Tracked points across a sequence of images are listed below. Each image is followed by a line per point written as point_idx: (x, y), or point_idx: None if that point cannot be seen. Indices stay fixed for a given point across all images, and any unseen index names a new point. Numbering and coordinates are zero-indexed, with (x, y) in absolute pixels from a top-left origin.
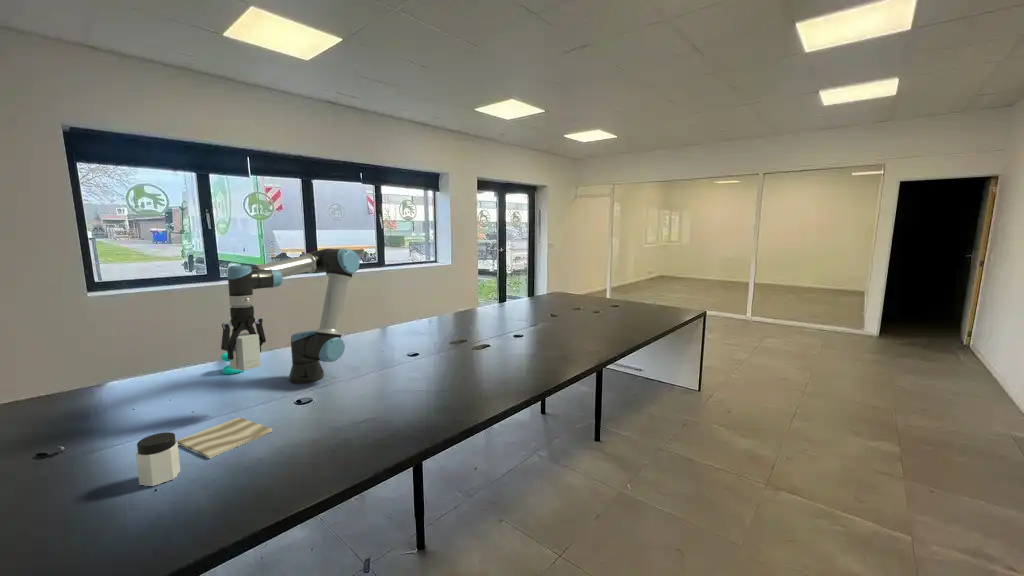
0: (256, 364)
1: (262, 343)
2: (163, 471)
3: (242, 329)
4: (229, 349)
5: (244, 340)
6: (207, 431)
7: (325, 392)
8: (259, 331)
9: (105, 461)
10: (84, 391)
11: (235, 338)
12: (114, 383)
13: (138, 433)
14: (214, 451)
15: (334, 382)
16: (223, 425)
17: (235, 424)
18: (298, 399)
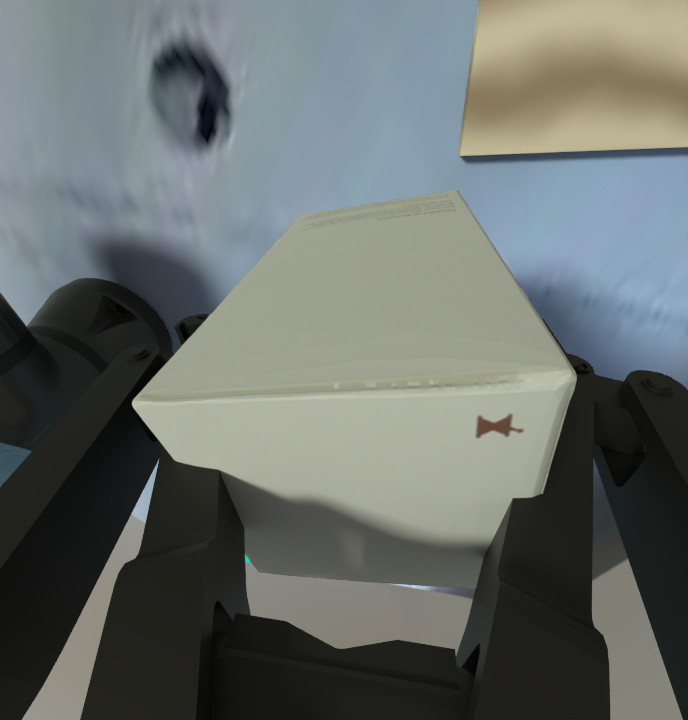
0: (335, 211)
1: (178, 324)
2: None
3: (408, 691)
4: (588, 380)
5: (487, 337)
6: (624, 117)
7: (81, 109)
8: (85, 500)
9: None
10: (463, 589)
11: (560, 493)
12: (418, 585)
13: (630, 356)
14: None
15: (28, 196)
16: (550, 122)
17: (528, 74)
18: (202, 148)
